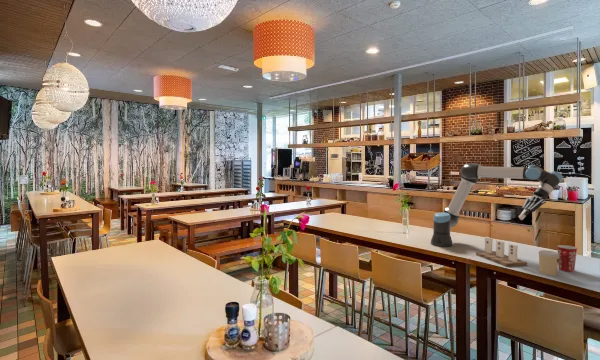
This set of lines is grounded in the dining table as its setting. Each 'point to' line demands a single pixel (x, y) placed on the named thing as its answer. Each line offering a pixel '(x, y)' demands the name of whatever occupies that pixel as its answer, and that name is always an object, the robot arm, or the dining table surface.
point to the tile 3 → (512, 253)
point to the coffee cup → (548, 262)
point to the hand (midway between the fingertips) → (520, 218)
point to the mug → (567, 258)
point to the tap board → (500, 259)
